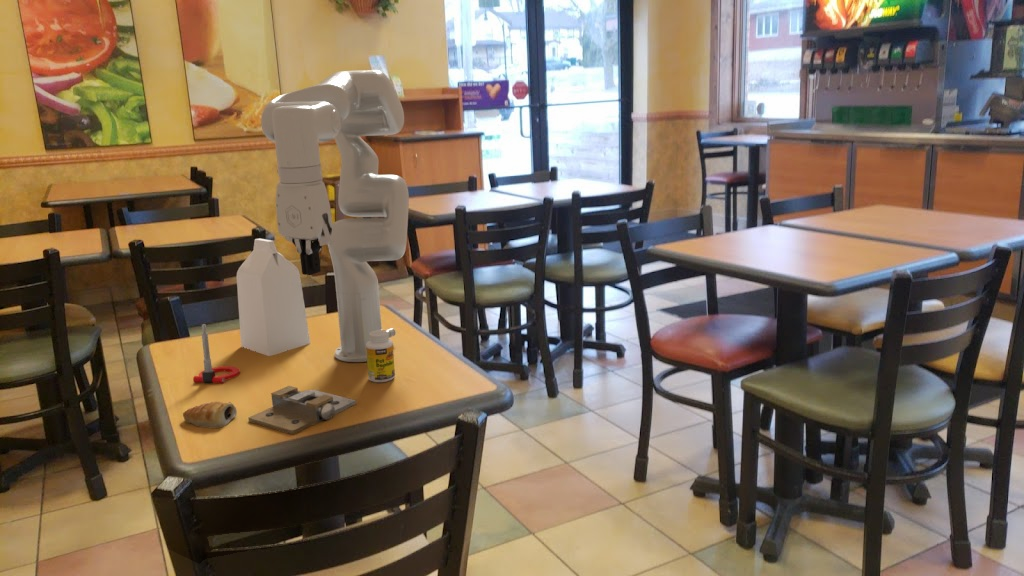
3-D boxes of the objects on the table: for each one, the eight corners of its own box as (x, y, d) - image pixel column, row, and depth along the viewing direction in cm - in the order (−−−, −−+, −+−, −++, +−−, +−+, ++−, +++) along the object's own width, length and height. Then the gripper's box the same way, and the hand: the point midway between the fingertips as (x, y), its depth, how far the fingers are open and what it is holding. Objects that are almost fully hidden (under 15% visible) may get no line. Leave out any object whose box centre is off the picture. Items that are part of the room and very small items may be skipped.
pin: (287, 403, 155) (286, 389, 154) (335, 416, 148) (333, 401, 147) (275, 408, 153) (274, 394, 152) (323, 422, 146) (322, 407, 145)
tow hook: (211, 370, 177) (189, 383, 168) (206, 314, 174) (183, 325, 165) (246, 371, 176) (226, 385, 167) (241, 315, 173) (220, 325, 164)
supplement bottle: (375, 385, 163) (371, 338, 161) (364, 378, 168) (360, 332, 165) (399, 379, 166) (396, 333, 164) (388, 372, 171) (384, 327, 168)
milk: (241, 346, 191) (228, 241, 185) (282, 334, 200) (270, 233, 193) (269, 356, 184) (256, 246, 177) (310, 343, 192) (299, 238, 186)
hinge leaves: (312, 393, 160) (311, 376, 159) (356, 404, 154) (354, 386, 153) (248, 421, 147) (246, 403, 146) (293, 434, 141) (290, 416, 140)
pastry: (176, 427, 146) (173, 408, 145) (196, 413, 153) (193, 395, 152) (222, 429, 145) (220, 410, 144) (241, 415, 151) (239, 396, 150)
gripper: (255, 176, 143) (268, 273, 149) (315, 180, 136) (326, 283, 141) (286, 170, 149) (297, 264, 155) (345, 174, 142) (355, 272, 147)
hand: (311, 272), depth 148 cm, fingers closed
